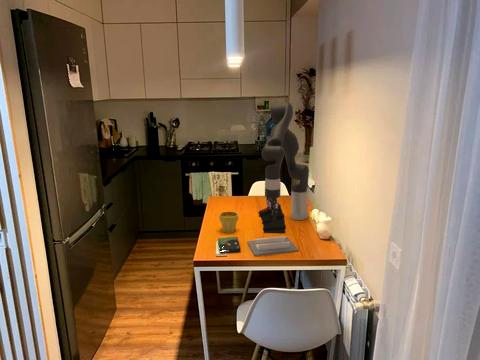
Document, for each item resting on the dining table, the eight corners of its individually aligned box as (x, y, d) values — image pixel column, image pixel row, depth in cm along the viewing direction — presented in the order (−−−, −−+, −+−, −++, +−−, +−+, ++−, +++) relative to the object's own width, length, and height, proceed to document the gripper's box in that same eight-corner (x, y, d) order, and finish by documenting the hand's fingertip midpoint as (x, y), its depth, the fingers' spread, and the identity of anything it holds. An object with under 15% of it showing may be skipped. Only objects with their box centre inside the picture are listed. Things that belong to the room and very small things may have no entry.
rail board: (287, 238, 196) (287, 232, 195) (298, 251, 181) (298, 245, 180) (247, 243, 191) (247, 236, 190) (254, 256, 176) (254, 249, 175)
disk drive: (241, 253, 181) (237, 241, 195) (241, 248, 180) (237, 236, 194) (220, 255, 180) (217, 242, 194) (219, 249, 179) (217, 237, 193)
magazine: (292, 231, 181) (279, 204, 178) (267, 241, 183) (254, 215, 181) (291, 228, 185) (279, 202, 182) (267, 238, 187) (254, 212, 184)
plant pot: (228, 235, 201) (228, 218, 199) (216, 230, 208) (215, 214, 206) (242, 230, 208) (241, 214, 206) (229, 225, 215) (229, 209, 213)
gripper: (284, 190, 172) (284, 225, 176) (275, 182, 186) (275, 215, 190) (269, 191, 171) (269, 226, 175) (261, 183, 184) (261, 216, 189)
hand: (272, 220), depth 183 cm, fingers closed on magazine, 4 cm apart
